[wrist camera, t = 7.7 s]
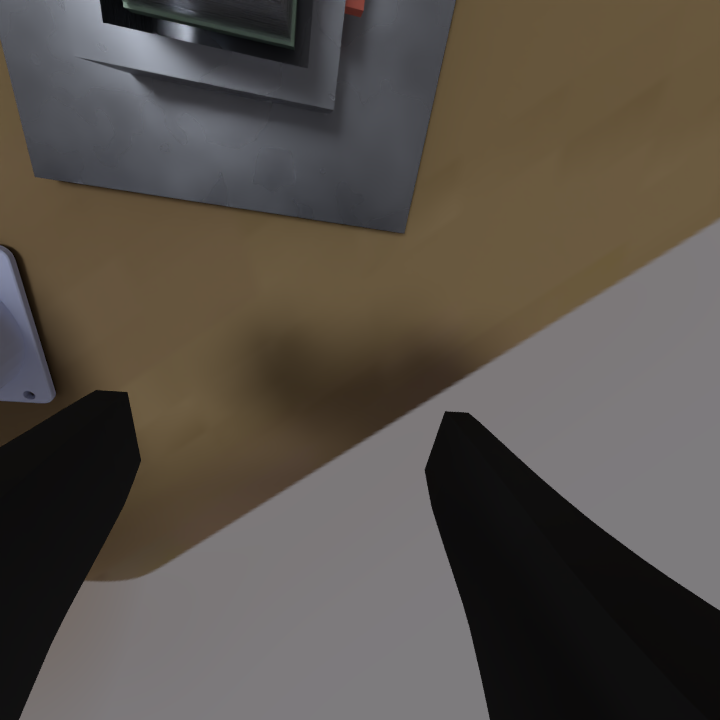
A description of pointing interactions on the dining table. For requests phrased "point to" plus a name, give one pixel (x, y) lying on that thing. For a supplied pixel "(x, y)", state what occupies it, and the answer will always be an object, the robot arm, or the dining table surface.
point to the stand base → (232, 104)
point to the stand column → (228, 17)
